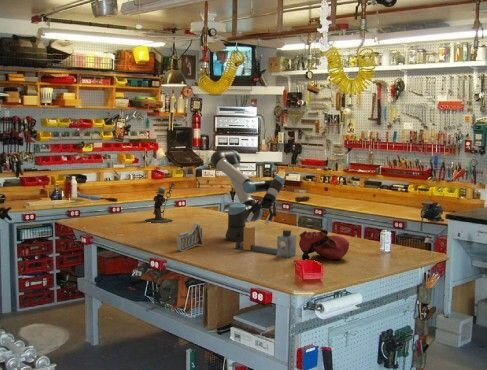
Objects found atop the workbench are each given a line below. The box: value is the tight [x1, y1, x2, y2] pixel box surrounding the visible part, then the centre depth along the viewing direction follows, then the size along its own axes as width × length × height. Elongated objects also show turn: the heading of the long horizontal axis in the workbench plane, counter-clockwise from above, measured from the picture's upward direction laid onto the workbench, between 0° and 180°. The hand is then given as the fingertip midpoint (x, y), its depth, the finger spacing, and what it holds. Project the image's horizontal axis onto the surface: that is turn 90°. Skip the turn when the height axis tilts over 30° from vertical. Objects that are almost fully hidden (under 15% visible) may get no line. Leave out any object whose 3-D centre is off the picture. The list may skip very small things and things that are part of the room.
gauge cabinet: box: [276, 233, 297, 259], centre depth 362 cm, size 7×10×12 cm
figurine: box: [144, 182, 176, 224], centre depth 475 cm, size 23×23×30 cm
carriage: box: [242, 225, 256, 251], centre depth 376 cm, size 5×6×14 cm
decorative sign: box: [176, 223, 204, 252], centre depth 377 cm, size 23×3×15 cm, turn 149°
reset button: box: [282, 229, 292, 237], centre depth 361 cm, size 3×3×6 cm
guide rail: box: [234, 241, 277, 256], centre depth 373 cm, size 31×5×4 cm, turn 56°
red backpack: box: [298, 227, 350, 261], centre depth 355 cm, size 24×20×30 cm
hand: (256, 222), depth 384 cm, fingers open, 13 cm apart
